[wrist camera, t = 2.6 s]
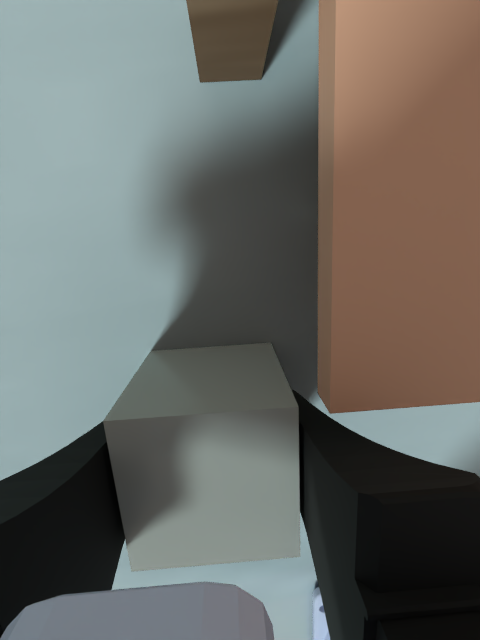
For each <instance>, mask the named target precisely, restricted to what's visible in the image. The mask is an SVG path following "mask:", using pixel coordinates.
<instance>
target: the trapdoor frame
mask: <svg viewBox="0 0 480 640" xmlns="http://www.w3.org/2000/svg"><path fill="white" fill-rule="evenodd" d="M186 1H187V7H188V13H189V19H190V25H191V31H192V37H193V43H194V49H195V55H196V61H197V67H198V73H199V79H200V82H219V81H240V80H260V79H261V78H262V73H263V69H264V64H265V60H266V55H267V50H268V46H269V41H270V37H271V32H272V27H273V23H274V18H275V14H276V9H277V5H278V0H186Z"/></svg>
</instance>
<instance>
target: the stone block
mask: <svg viewBox="0 0 480 640" xmlns="http://www.w3.org/2000/svg"><path fill="white" fill-rule="evenodd" d="M103 424H104V429H105V434H106V439H107V445H108V450H109V455H110V460H111V466H112V471H113V476H114V482H115V487H116V492H117V497H118V503H119V508H120V513H121V518H122V524H123V529H124V534H125V539H126V545H127V550H128V555H129V560H130V566H131V571H144V570H155V569H167V568H178V567H190V566H201V565H213V564H224V563H236V562H247V561H259V560H270V559H282V558H293V557H300V488H299V407H298V404H297V402H296V400H295V397H294V395H293V393H292V390H291V388H290V386H289V383H288V381H287V379H286V376H285V374H284V372H283V370H282V367H281V365H280V363H279V360H278V358H277V356H276V353H275V351H274V349H273V346H272V344H271V343H257V344H242V345H228V346H213V347H199V348H184V349H170V350H155V351H151V352H150V353H149V354H148V356H147V357H146V359H145V360H144V362H143V363H142V365H141V366H140V368H139V369H138V371H137V372H136V374H135V375H134V376H133V378H132V379H131V381H130V382H129V384H128V385H127V387H126V388H125V390H124V391H123V393H122V394H121V396H120V397H119V398H118V400H117V401H116V403H115V404H114V406H113V407H112V409H111V410H110V412H109V413H108V415H107V416H106V418H105V419H104V421H103Z"/></svg>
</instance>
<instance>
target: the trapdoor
mask: <svg viewBox="0 0 480 640" xmlns="http://www.w3.org/2000/svg"><path fill="white" fill-rule="evenodd" d="M318 394H319V396H320V398H321V399H322V401H323V403H324V404H325V406H326V408H327V409H328V411H329V413H343V412H356V411H369V410H382V409H395V408H408V407H420V406H433V405H446V404H459V403H472V402H480V0H319V116H318Z"/></svg>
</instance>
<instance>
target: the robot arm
mask: <svg viewBox="0 0 480 640" xmlns="http://www.w3.org/2000/svg"><path fill="white" fill-rule="evenodd" d="M292 393H293V395H294V397H295V400H296V402H297V404H298V407H299V488H300V513H301V515H302V518H303V522H304V525H305V529H306V532H307V536H308V541H309V545H310V549H311V554H312V558H313V562H314V566H315V571H316V575H317V580H318V584H319V587H317V588H316V589H315V590H314V591H313V640H480V477H479V476H477V475H476V474H475V473H471V472H467V471H463V470H459V469H455V468H451V467H446V466H442V465H438V464H434V463H431V462H428V461H424V460H421V459H418V458H415V457H412V456H409V455H406V454H403V453H400V452H397V451H395V450H392V449H390V448H387V447H385V446H382V445H380V444H378V443H375V442H373V441H371V440H369V439H367V438H365V437H363V436H361V435H359V434H357V433H355V432H353V431H351V430H349V429H348V428H346V427H344V426H343V425H341V424H339V423H338V422H336V421H335V420H333V419H331V418H330V417H329V416H327V415H326V414H324V413H323V412H321V411H320V410H319V409H317V408H316V407H315V406H313V405H312V404H311V403H309V402H308V401H307V400H306V399H304V398H303V397H302V396H301V395H299V394H298V393H297V392H296V391H294V390H292ZM124 541H125V534H124V529H123V524H122V518H121V513H120V508H119V503H118V497H117V492H116V487H115V482H114V476H113V471H112V466H111V460H110V455H109V450H108V445H107V439H106V434H105V429H104V424H103V422H101V423H100V424H98V425H97V426H96V427H94V428H93V429H91V430H90V431H89V432H87V433H86V434H84V435H83V436H81V437H79V438H78V439H76V440H75V441H73V442H72V443H70V444H69V445H67V446H66V447H64V448H63V449H61V450H59V451H58V452H56V453H54V454H53V455H51V456H49V457H47V458H45V459H43V460H42V461H40V462H38V463H36V464H34V465H32V466H30V467H28V468H26V469H24V470H22V471H20V472H18V473H16V474H14V475H12V476H10V477H8V478H5V479H3V480H1V481H0V640H274V634H273V626H272V623H271V621H270V618H269V616H268V614H267V611H266V609H265V607H264V604H263V603H262V602H261V601H260V600H258V599H257V598H255V597H254V596H252V595H250V594H249V593H247V592H246V591H244V590H242V589H241V588H239V587H238V586H236V585H232V584H223V583H214V582H195V583H184V584H173V585H163V586H152V587H141V588H130V589H119V590H111V589H112V585H113V581H114V577H115V573H116V569H117V566H118V562H119V558H120V554H121V550H122V547H123V544H124Z"/></svg>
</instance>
